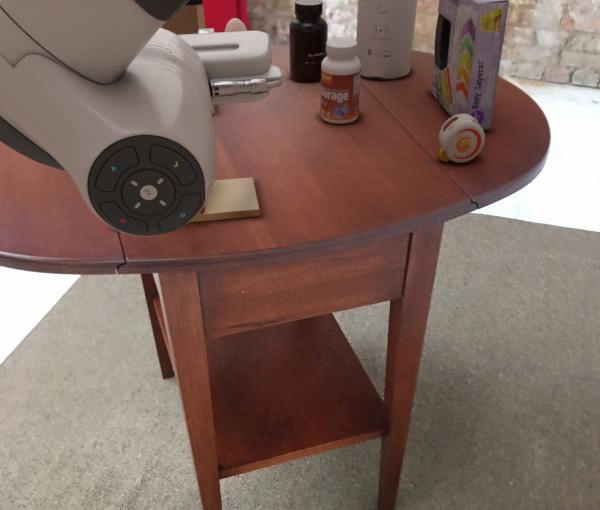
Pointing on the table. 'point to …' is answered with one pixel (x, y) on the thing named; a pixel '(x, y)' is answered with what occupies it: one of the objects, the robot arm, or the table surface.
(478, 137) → the roller toy
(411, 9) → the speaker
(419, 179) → the table surface
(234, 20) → the egg
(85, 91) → the robot arm
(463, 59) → the cake pan box
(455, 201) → the table surface
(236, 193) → the board
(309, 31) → the supplement bottle
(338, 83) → the pill bottle
